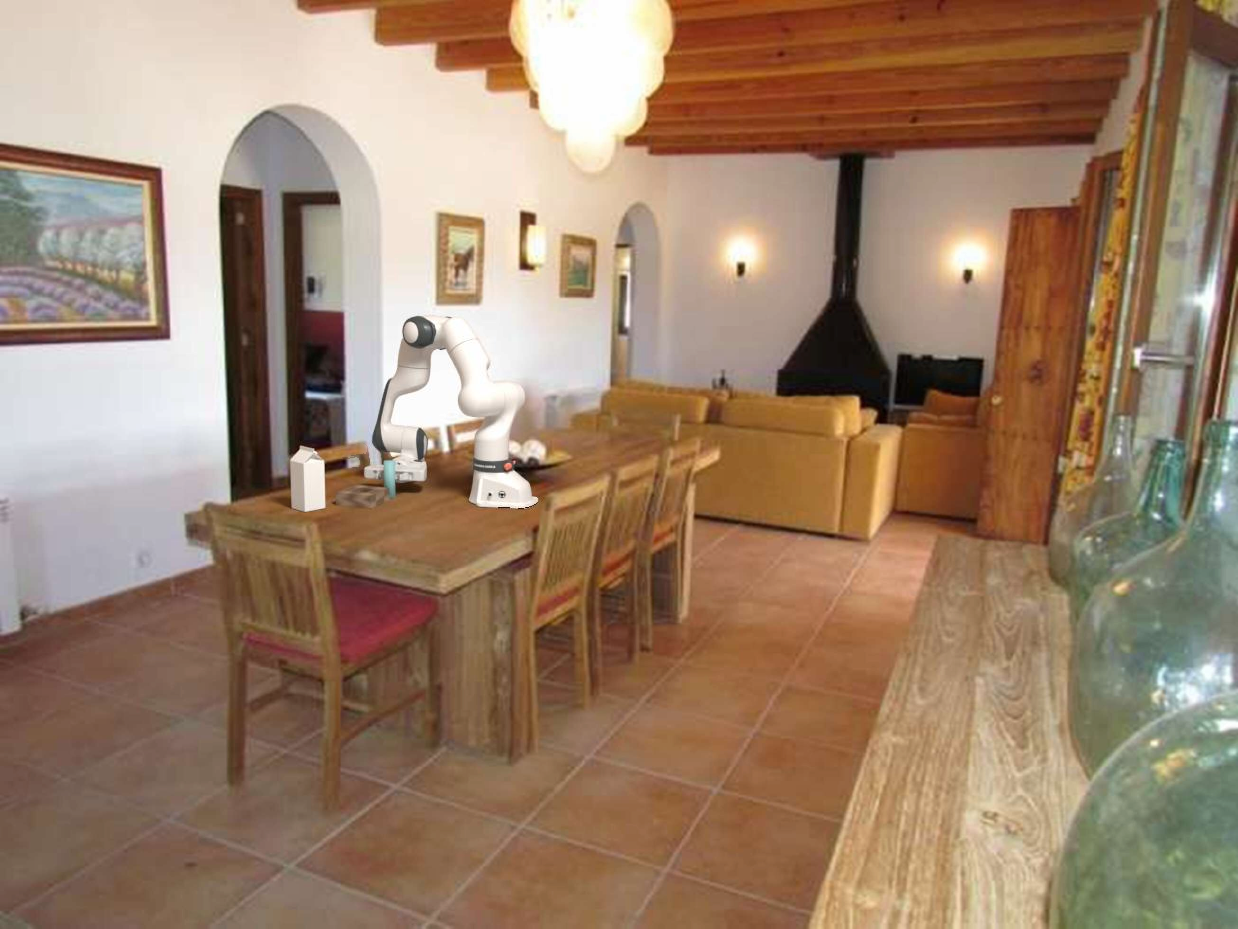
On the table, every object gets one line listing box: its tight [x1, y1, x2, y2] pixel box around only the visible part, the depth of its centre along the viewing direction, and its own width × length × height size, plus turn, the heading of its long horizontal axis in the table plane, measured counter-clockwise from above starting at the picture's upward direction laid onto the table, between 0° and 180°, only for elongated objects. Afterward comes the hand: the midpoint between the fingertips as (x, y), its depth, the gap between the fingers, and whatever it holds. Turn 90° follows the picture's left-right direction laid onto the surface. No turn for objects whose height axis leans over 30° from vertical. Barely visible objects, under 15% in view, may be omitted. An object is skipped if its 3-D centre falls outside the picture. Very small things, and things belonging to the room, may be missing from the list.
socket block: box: [335, 484, 390, 509], centre depth 276 cm, size 12×12×4 cm
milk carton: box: [289, 445, 326, 513], centre depth 264 cm, size 7×7×19 cm
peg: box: [383, 459, 396, 499], centre depth 284 cm, size 4×4×12 cm
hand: (388, 477), depth 283 cm, fingers open, 5 cm apart
